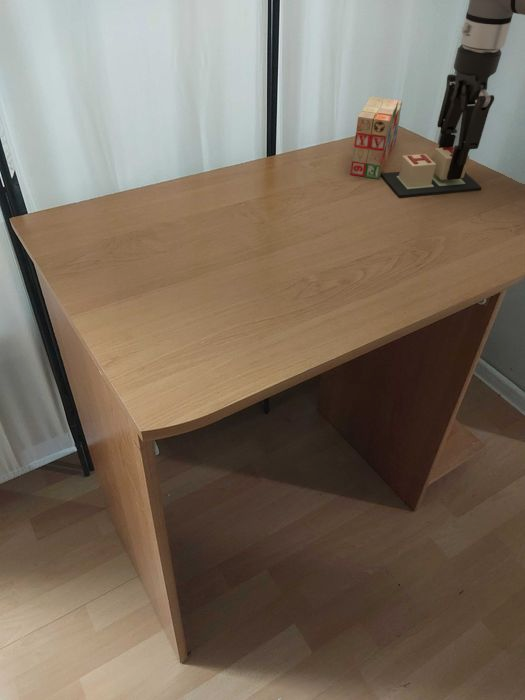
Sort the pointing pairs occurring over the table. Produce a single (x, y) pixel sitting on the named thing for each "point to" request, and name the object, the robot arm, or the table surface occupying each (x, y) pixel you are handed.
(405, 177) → the cream cube
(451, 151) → the wooden letter block
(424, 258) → the table surface
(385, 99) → the stack of blocks
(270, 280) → the table surface
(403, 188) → the word mat
